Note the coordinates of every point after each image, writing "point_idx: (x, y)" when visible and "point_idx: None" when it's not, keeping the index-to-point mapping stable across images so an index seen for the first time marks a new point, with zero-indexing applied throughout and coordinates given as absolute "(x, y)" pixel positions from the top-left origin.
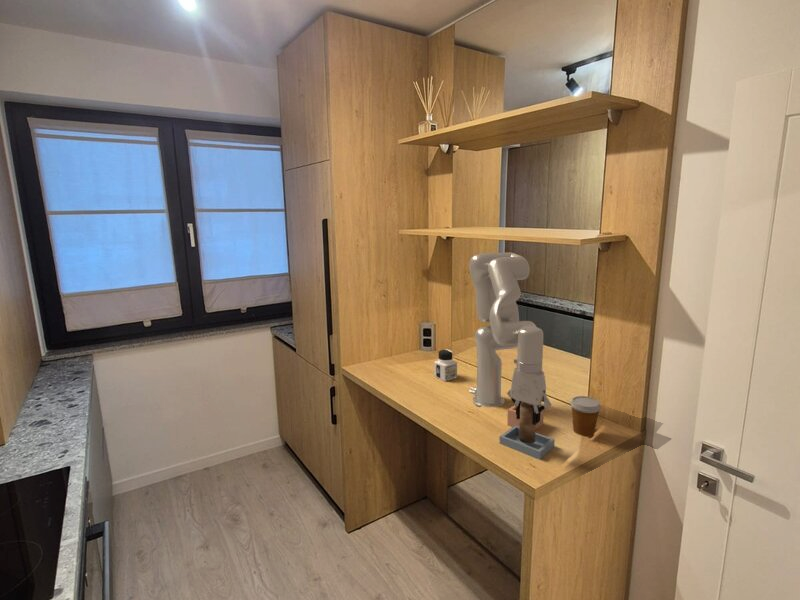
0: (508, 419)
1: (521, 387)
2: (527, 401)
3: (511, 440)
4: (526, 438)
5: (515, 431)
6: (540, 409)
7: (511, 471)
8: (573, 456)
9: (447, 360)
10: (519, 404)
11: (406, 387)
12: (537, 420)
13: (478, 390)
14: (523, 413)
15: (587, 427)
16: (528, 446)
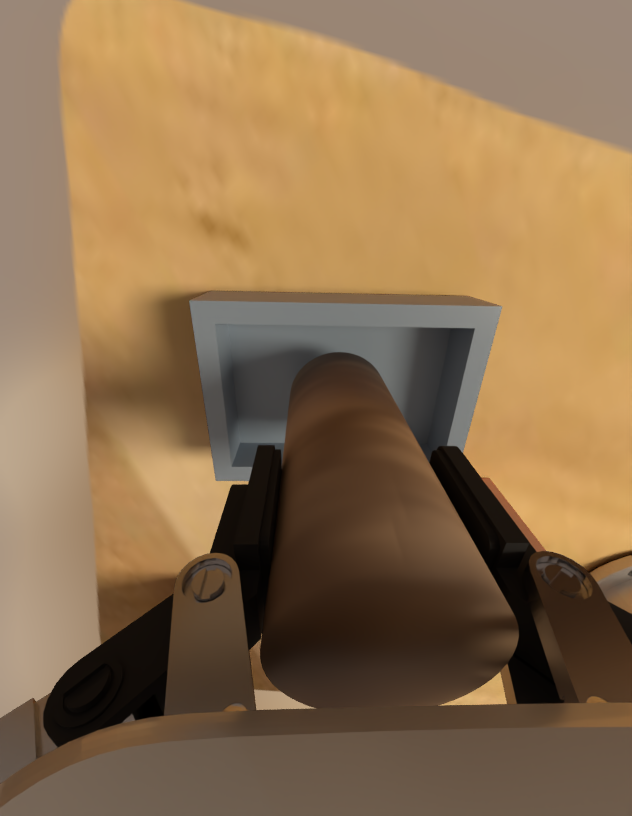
0: (509, 512)
1: None
2: (359, 807)
3: (409, 311)
4: (321, 366)
5: (435, 447)
6: (139, 645)
7: (277, 38)
8: (137, 447)
9: None
10: (519, 613)
11: None
12: (235, 493)
13: None
14: (392, 486)
15: None
16: (282, 315)
